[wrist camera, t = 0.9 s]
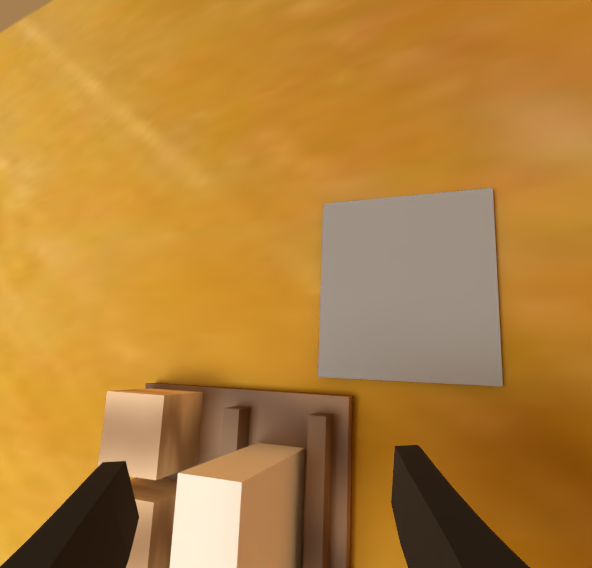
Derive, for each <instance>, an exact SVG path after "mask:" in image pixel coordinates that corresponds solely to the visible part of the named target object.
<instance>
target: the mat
mask: <svg viewBox="0 0 592 568" xmlns="http://www.w3.org/2000/svg"><path fill="white" fill-rule="evenodd" d="M318 377H327V378H346V379H365V380H385V381H404V382H424V383H443V384H462V385H482V386H501V387H503V378H502V358H501V339H500V319H499V299H498V280H497V260H496V241H495V221H494V201H493V188H486V189H475V190H464V191H454V192H443V193H432V194H421V195H410V196H400V197H389V198H378V199H367V200H357V201H346V202H335V203H324V204H323V231H322V264H321V297H320V330H319V363H318Z"/></svg>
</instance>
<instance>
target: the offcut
mask: <svg viewBox="0 0 592 568" xmlns="http://www.w3.org/2000/svg"><path fill="white" fill-rule="evenodd" d="M202 401H203V392H195V391H181V390H167V389H153V388H150V389H134V390H117V391H107V397H106V405H105V413H104V422H103V430H102V438H101V446H100V454H99V462H98V467H99V466H100V464H101V463H102V462H115V461H126V464H127V468H128V473H129V476H131V477H138V478H144V479H150V480H158V479H161V478H164V477H166V476H169V475H172V474H174V473H177V472H180V471H182V470H185V469H188V468H190V467H193V466H196V465H197V463H198V450H199V438H200V425H201V413H202Z"/></svg>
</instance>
